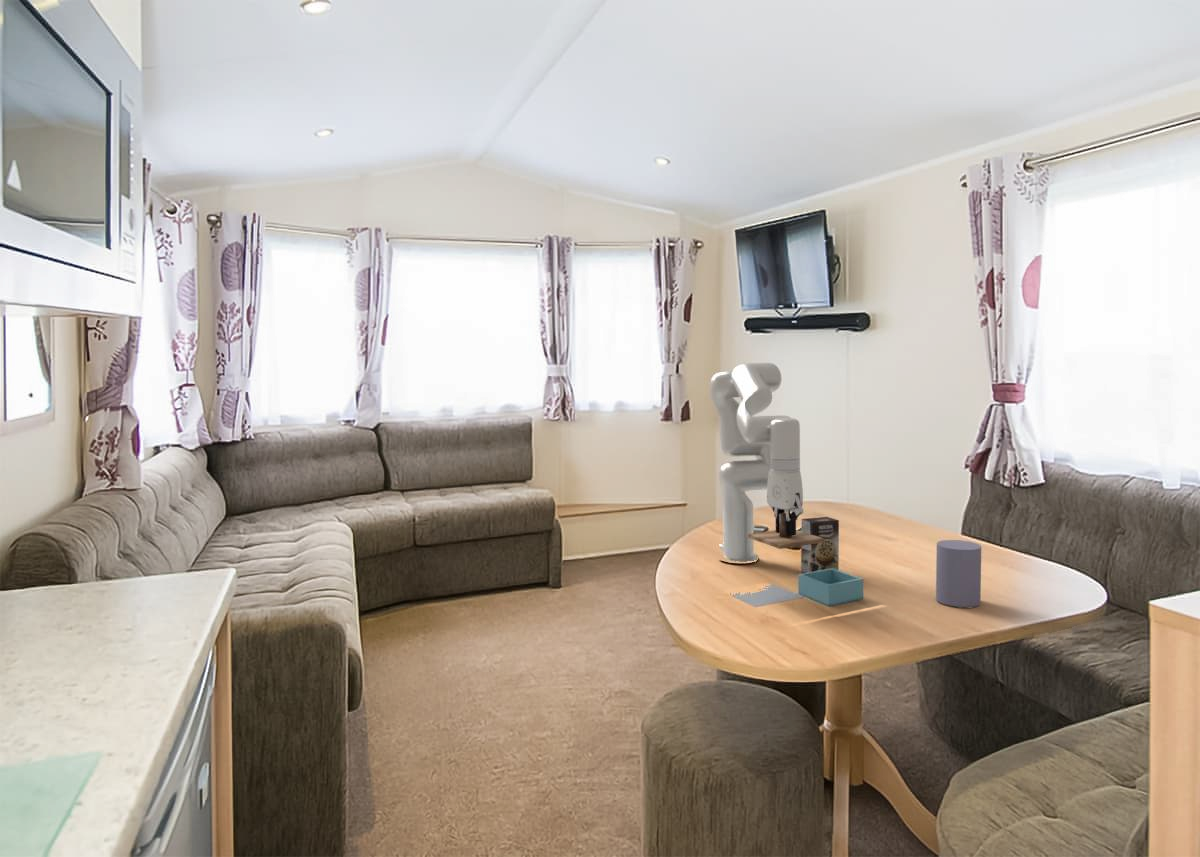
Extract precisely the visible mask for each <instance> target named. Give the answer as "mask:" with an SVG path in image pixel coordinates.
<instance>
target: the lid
mask: <svg viewBox="0 0 1200 857" xmlns="http://www.w3.org/2000/svg"><path fill="white" fill-rule="evenodd" d="M791 513H792V512H790V514H791ZM785 521H787V520H786V512H785V513H780V514H779V533H776V529H775V530H769V531H762V532H755V533H753V534H748V538H750V539H753V540H754V541H756V542H760V543H761V544H765V545H768V546H771V547H772V548H773V547H774V548H776V549H779V550H782V549H788V548H796V547H801V546H803V545H810V544H816V543H823V542H824V538H821V537H818V536H814V535H811V534H808V533H804V532H802V530H798V529H796V535H792V536H785Z"/></svg>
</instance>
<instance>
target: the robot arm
mask: <svg viewBox="0 0 1200 857" xmlns="http://www.w3.org/2000/svg"><path fill="white" fill-rule="evenodd" d="M781 383H782V373H781V371H780V369H779V367H778V366H777V365H776V364H775V363H773V362H758V363H757V362H755V363H754V362H753V363H752V362H750V363H741V364H739V365H737V366H735V367H734V368H733V370H724V371H719V372H717V373H715V374H713V376H712V377H711V379H710V395H711V399H712V402H713V405H714V407H715V409H716V412H717V413H716V414H717V417H718V425H719V436H720V446H721V450H722V454H724V455H725V456H727V457H730V458H731V457H733V458H734V457H736V458H737V457H739V458H740V457H755V459H754V460H753V459H752V460H748V459H747V460H746V459H745V460H731V461H727V462H725V463H723V464H722V465H721V466H720V468H719V472H718V476H719V481H720V483H719V484H720V488H721V497H722V498H721V499H722V500H721V501H722V543H720V544H719V545H718V547H719V549H722V552H721V553H723V555H724V557H725V558H728V559H729V560H730V561H735V562H736V561H739V562H747V561H754V560H757V559H758V558H759V559H760V556H759V555H758V554H756V553H754V550H755V548H754V546H755V545H754V543H755V542H754V541H755V540H753V539H750V538H748V534H753V533H754V531H755V530H754V529H755V528H754V526H755V525H754V505H753V502H752V500H751V499H750V497H749V496H748V495H747V494H746V492H749V491H761V490H762V491H765V490H766V503H767V505H768V506H769V507H770V508H771V510H772V511H773V518H775V530H776V533H779V514H780V513H786V520H787V521H785V536H792V535H796V530H797V520H798V518H799V517H800V515H802V514H803V513H804V508H803V505H804V504H803V503H804V493H803V492H804V491H803V479H802V474H801V434H800V433H801V425H800V421H799V420H798V419H797V418H791V417H790V416H788V415H763V416H762V415H758V414H759V413H761V412H763V411H764V410H766V409H767V408H768V407H770V405H771V404H772V401H773V393H775V392H776V391H777V390H779V388H780V387H781V385H782V384H781ZM734 398H740V400H741V401H740V403H739V402H738V401H737V400H736V399H734ZM755 415H758V416H755ZM790 513H791V514H790Z"/></svg>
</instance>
